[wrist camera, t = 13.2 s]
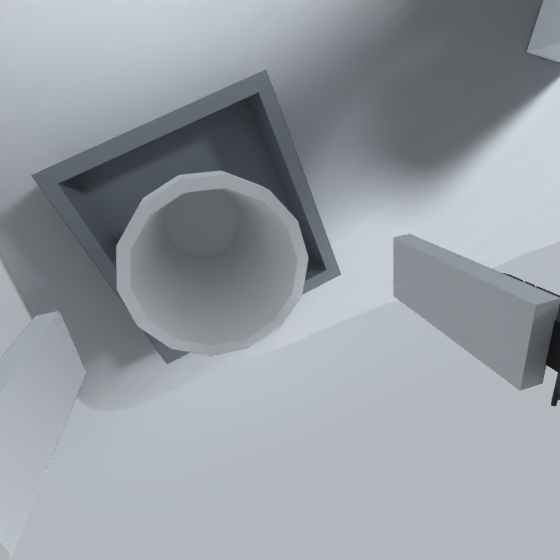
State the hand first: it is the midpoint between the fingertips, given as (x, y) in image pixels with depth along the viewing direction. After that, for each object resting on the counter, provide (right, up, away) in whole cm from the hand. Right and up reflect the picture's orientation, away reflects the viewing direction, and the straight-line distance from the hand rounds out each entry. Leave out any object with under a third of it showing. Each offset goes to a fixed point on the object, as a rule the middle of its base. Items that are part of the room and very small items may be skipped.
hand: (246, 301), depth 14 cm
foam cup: (-5, +6, +15) cm, 17 cm away
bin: (-5, +6, +16) cm, 18 cm away
